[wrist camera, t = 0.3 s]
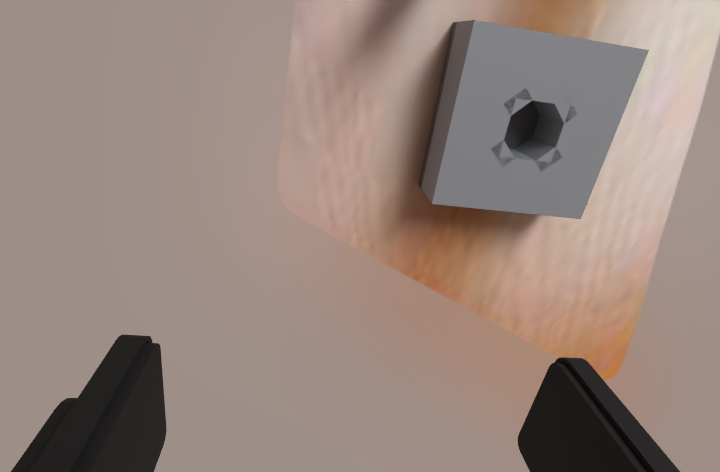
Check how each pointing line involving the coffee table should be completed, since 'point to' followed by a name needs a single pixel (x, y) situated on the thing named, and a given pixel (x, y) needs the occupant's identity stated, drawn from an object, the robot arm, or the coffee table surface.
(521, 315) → the coffee table surface
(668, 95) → the coffee table surface
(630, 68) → the bore block
